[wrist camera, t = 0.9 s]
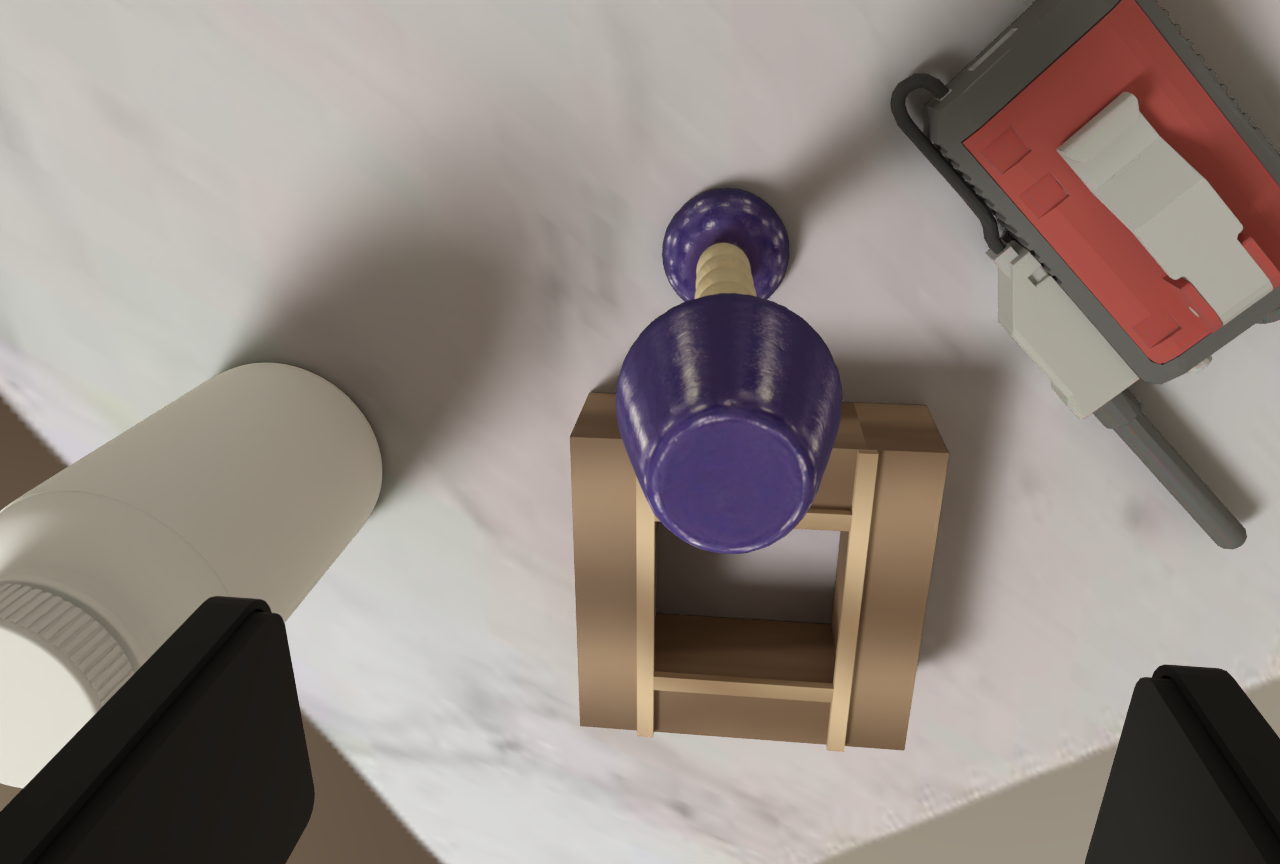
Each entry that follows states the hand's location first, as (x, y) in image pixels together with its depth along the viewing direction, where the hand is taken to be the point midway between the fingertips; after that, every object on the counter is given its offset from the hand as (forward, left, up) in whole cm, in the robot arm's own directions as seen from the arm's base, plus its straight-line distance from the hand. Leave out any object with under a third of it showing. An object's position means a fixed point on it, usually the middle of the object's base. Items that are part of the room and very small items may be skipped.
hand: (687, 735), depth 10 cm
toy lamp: (0, 0, -23) cm, 23 cm away
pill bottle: (+8, -17, -23) cm, 29 cm away
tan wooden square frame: (+11, +1, -23) cm, 25 cm away
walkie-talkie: (0, +13, -23) cm, 27 cm away
